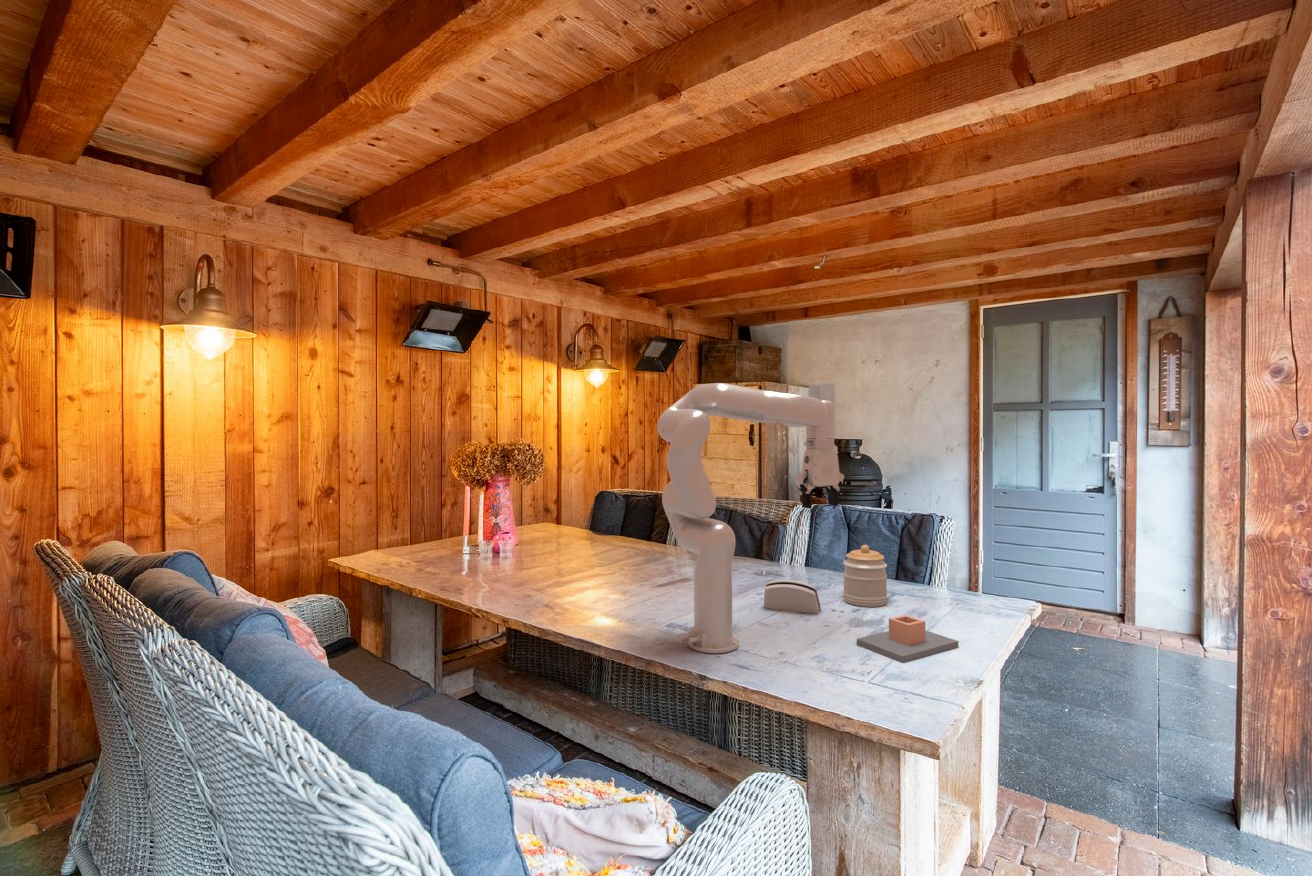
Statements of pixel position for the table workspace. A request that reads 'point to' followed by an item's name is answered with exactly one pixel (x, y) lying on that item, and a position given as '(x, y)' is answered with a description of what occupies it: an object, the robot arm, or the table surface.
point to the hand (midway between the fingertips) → (820, 506)
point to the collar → (907, 630)
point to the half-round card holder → (791, 596)
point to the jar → (865, 578)
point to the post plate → (905, 652)
